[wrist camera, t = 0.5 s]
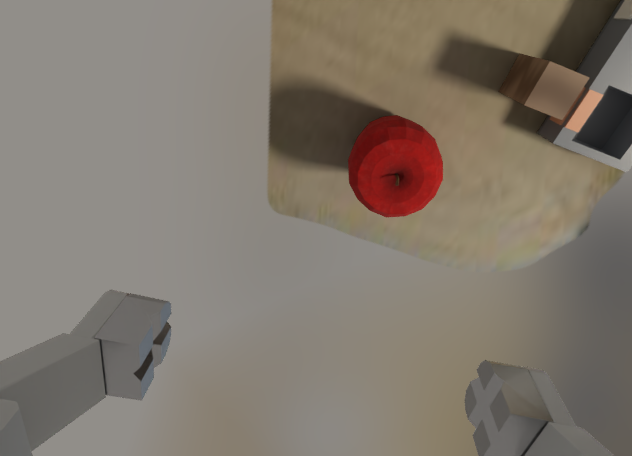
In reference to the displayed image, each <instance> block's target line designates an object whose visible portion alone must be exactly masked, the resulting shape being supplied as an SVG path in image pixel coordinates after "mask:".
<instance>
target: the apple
mask: <svg viewBox="0 0 632 456" xmlns="http://www.w3.org/2000/svg"><path fill="white" fill-rule="evenodd" d="M348 168H349V183H350V186H351V188H352V189H353V191H354V193H355V195H356V197H357V199H358V200H359V201H360V202H361V203H362V204H363V205H365V206H366V207H367V208H368V209H369V210H370V211H372V212H375V213H377V214H380V215H382V216H384V217H400V216H406V215H409V214H411V213H414V212H416V211H419V210H421V209H423V208H424V207H425V206H426V205H427V204H428V203H429V202H430V201H431V200H432V199H433V198H434V197H435V195H436V193H437V191H438V189H439V186H440V184H441V182H442V180H443V161H442V158H441V154H440V152H439V149H438V146H437V143H436V141H435V139H434V138H433V137H432V136H431V135H430V134H429V133H428V132H427V131H426V130H425V129H424V128H423V127H422V126H420V125H418V124H417V123H415V122H413V121H410V120H408V119H405V118H403V117H400V116H397V115H395V116H385V117H381V118H379V119H377V120H374V121H372V122H370V123H369V124H368V125H367V126H366V127H365V129H364V130H363V131H362V132H361V133H360V135H359V136H358V137H357V140H356V142H355V144H354V146H353V149H352V151H351V153H350V156H349V159H348Z"/></svg>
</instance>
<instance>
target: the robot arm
mask: <svg viewBox="0 0 632 456" xmlns="http://www.w3.org/2000/svg"><path fill="white" fill-rule="evenodd" d="M170 315H171V303H170V302H168V301H163V300H159V299H155V298H150V297H145V296H140V295H136V294H131V293H130V294H128V293H124V292H118V291H115V290H109V291H107V292H106V293H104V294H103V295H102V297H101V298H100V299H99V300H98V301H97V303H96V304H95V305H94V306H93V307H92V308H91V310H90V311H89V312H88V313H87V314H86V315H85V317H84V318H83V319H82V320H81V321H80V322H79V324H78V325H77V326H76V327H75V328H74V330H73V331H72V332H71V333H70V334H64V333H63V334H61V335H58V336H56V337H54V338H52V339H49V340H47V341H45V342H43V343H40V344H38V345H36V346H34V347H31V348H29V349H27V350H25V351H23V352H20V353H18V354H16V355H14V356H12V357H9V358H7V359H5V360H3V361H0V456H32V453H31V451H33V450H34V449H35V448H37V447H38V446H39V445H41V444H42V443H44V442H45V441H46V440H48V439H49V438H50V437H52V436H53V435H54V434H56V433H57V432H59V431H60V430H61V429H63V428H64V427H65V426H67V425H68V424H70V423H71V422H72V421H74V420H75V419H76V418H78V417H79V416H80V415H82V414H83V413H85V412H86V411H87V410H89V409H90V408H91V407H93V406H94V405H96V404H97V403H98V402H100V401H101V400H102V399H104V398H105V397H106V396H105V395H109V396H116V397H122V398H129V399H136V400H142V399H143V397H144V395H145V393H146V391H147V389H148V387H149V386H150V384H151V382H152V380H153V378H154V367H156V366H158V365H159V364H161V363H162V361H163V359H164V357H165V355H166V352H167V349H168V346H169V342H170V337H171V326H170V325H169V323H168V322H167V320H168V318H169V317H170ZM477 372H478V375H479V378H477V379H475V380H473V381H471V382H470V384H469V386H468V388H467V390H466V396H465V410H466V414H467V417H468V420H469V421H470V422H471V423H472V424H473V425H474V426H475V427H476V430H475V432H474V434H473V438H474V441H475V445H476V448H477V452H478V455H479V456H614V455H613V454H612V453H611V452H610V451H608V450H607V449H606V448H605V447H604V446H603V445H601V444H600V443H599V442H598V441H597V440H596V439H595V438H593V437H592V436H591V435H590V434H589V433H588V432H587V431H585V430H584V429H583V428H579V427H576V425H575V423H574V421H573V420H572V418H571V416H570V414H569V412H568V410H567V408H566V407H565V405H564V403H563V402H562V399H561V398H560V396H559V394H558V392H557V390H556V388H555V386H554V385H553V383H552V381H551V379H550V377H549V375H548V374H547V373H546V372H544V370H540V369H534V368H528V367H521V366H515V365H509V364H504V363H498V362H493V361H487V360H485V361H483V362H482V363H481V364H480V365H479V368H478V369H477Z"/></svg>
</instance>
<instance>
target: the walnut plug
mask: <svg viewBox="0 0 632 456" xmlns="http://www.w3.org/2000/svg"><path fill="white" fill-rule="evenodd" d="M588 80H589V77H587V76H585V75H582V74H580V73H577V72H575V71H573V70H570V69H568V68H565V67H563V66H561V65H558V64H556V63H553V62H551V61H547V60H543V59H539V58H535V57H531V56H527V55H523V54H519V56H518V58H517V59H516V61H515V63H514V65H513V67H512V68H511V70H510V72H509V74H508V76H507V77H506V79H505V81H504V83H503V85H502V86H501V88H500V90H499V92H500V93H502V94H504V95H506V96H508V97H510V98H512V99H514V100H515V101H517V102H519V103H521V104H523V105H525V106H528V107H530V108H533V109H535V110H538V111H540V112H543V113H545V114H548V115H550V116H553V117H555V118H558V119H560V120H563V118H564V117H565V115H566V114H567V112H568V110H569V109H570V107H571V106H572V104H573V103H574V101H575V100H576V98H577V97H578V95H579V94H580V92H581V91H582V89H583V87H584V86H585V84H586V83H587V81H588Z"/></svg>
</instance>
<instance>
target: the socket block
mask: <svg viewBox="0 0 632 456" xmlns="http://www.w3.org/2000/svg"><path fill="white" fill-rule="evenodd" d="M576 72H577V73H580V74H582V75H585V76H587V77H589V80H588V81H587V83H586V84H585V86H584V87H583V89H582V91H581V92H580V94H579V95H578V97H577V98H576V100H575V101H574V103H573V104H572V106H571V107H570V109H569V110H568V112H567V114H566V115H565V117H564V118H563V120H560V119H558V118H555V117H553V116H550V115H548V116H547V118H546V119H545V121H544V123H543V124H542V126H541V127H540V129H539V131H538V132H537V133H538V134H539V135H541V136H542V137H544V138H545V139H547V140H549V141H550V142H552V143H553V144H556V145H558V146H561V147H564V148H566V149H569V150H571V151H574V152H576V153H579V154H581V155H584V156H587V157H589V158H592V159H594V160H597V161H599V162H602V163H604V164H607V165H609V166H612V167H615V168H617V169H620V170H622V171H625V172H628V171H629V169H630V168H631V167H632V0H621V1H620V2H619V4H618V5H617V7H616V9H615V10H614V12H613V13H612V15H611V17H610V18H609V20H608V21H607V23H606V24H605V26H604V28H603V29H602V31H601V32H600V34H599V36H598V37H597V39H596V40H595V42H594V43H593V45H592V47H591V48H590V50H589V51H588V53H587V55H586V56H585V58H584V59H583V61H582V62H581V64H580V66H579V67H578V69H577V70H576Z"/></svg>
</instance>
